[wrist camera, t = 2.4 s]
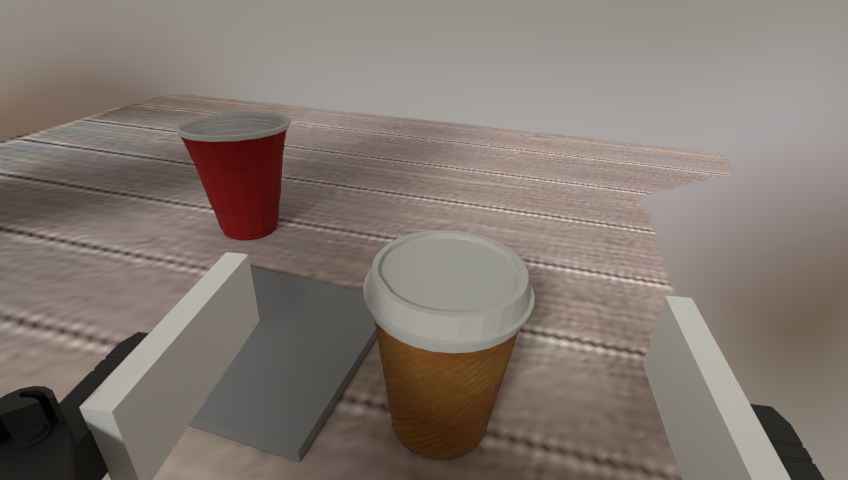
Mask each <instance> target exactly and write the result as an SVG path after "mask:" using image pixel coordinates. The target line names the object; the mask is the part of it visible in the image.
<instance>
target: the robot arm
mask: <svg viewBox="0 0 848 480" xmlns="http://www.w3.org/2000/svg"><path fill="white" fill-rule="evenodd" d="M259 321H260V320H259V314H258V308H257V302H256V296H255V290H254V285H253V279H252V273H251V267H250V261H249V255H248V254H240V253H230V252H226V253H225V254H224V255H223V256H222V257H221V258H220V259H219V260H218V261H217V262H216V263H215V265H214V266H213V267H212V268H211V269H210V270H209V271H208V272H207V273H206V274H205V275H204V276H203V277H202V278H201V279H200V280H199V281H198V282H197V284H196V285H195V286H194V287H193V288H192V289H191V290H190V291H189V292H188V293H187V294H186V295H185V296H184V297H183V298H182V299H181V300H180V301H179V303H178V304H177V305H176V306H175V307H174V308H173V309H172V310H171V311H170V312H169V313H168V314H167V315H166V316H165V317H164V318H163V319H162V320H161V321H160V323H159V324H158V325H157V326H156V327H155V328H154V329H153V330H152V331H151V332H150V333H142V332H138V333H136V334H134V335H133V336H131V337H129V338H128V339H126V340H124V341H122V342H121V343H119V344H118V345H117V346H116V347H115V348H114V349H113V350H112V351H111V352H110V353H109V354H108V355H107V356H106V359H105V360H102V361H101V362H100V363H99V364H98V365H97V366H96V367H95V369H94V371H91V372H90V373H89V374H88V375H87V376H86V377H85V378H84V379H83V380H82V381H81V382H80V383H79V384H78V385H77V386H76V387H75V388H74V389H73V390H72V391H71V392H70V393H69V394H68V395H67V396H66V397H65V398H64V399H63V400H62V401H61V402H60V403H59V404H58V401H57V399H56V397H55V395H54V393H53V391H52V390H51V389H49V388H47V387H43V386H32V387H27V388H22V389H19V390H16V391H14V392H11V393H9V394H7V395H5V396H3V397H2V398H0V480H102V479H103V477H104V476H105V475H106V473H107V472H108V474H109V476H110V479H111V480H152V479H153V478H154V476H155V475H156V473H157V472H158V470H159V469H160V467H161V466H162V464H163V463H164V461H165V460H166V458H167V457H168V455H169V454H170V453H171V451H172V450H173V448H174V447H175V445H176V444H177V442H178V441H179V439H180V438H181V436H182V435H183V433H184V432H185V430H186V429H187V427H188V426H189V424H190V423H191V421H192V420H193V419H194V417H195V416H196V414H197V413H198V411H199V410H200V408H201V407H202V405H203V404H204V402H205V401H206V399H207V398H208V396H209V395H210V393H211V392H212V390H213V389H214V388H215V386H216V385H217V383H218V382H219V380H220V379H221V377H222V376H223V374H224V373H225V371H226V370H227V368H228V367H229V365H230V364H231V362H232V361H233V359H234V358H235V356H236V355H237V354H238V352H239V351H240V349H241V348H242V346H243V345H244V343H245V342H246V340H247V339H248V337H249V336H250V334H251V333H252V331H253V330H254V328H255V327H256V325H257V324H258V323H259ZM643 366H644V369H645V372H646V375H647V378H648V381H649V384H650V387H651V390H652V393H653V396H654V399H655V402H656V405H657V407H658V410H659V413H660V416H661V419H662V422H663V425H664V428H665V431H666V434H667V437H668V440H669V443H670V446H671V449H672V452H673V455H674V458H675V461H676V464H677V467H678V470H679V472H680V475H681V478H682V480H824V478H823V476H822V475H821V473H820V472H819V470H818V468H817V467H816V465H815V464H813V463H812V458H811V457H810V455H809V454H808V452H807V450H806V449H805V448H803V446H802V442H801V441H800V439H799V437H798V436H797V434H796V432H795V431H794V429H793V427H792V426H791V424H790V423H789V422H787V421H786V420H785V419H784V418H783V417H782V416H781V415H780V414H779V413H778V412H777V411H776V410H775V409H773V408H772V407H770V406H762V405H753V404H749V402H748V400H747V398H746V396H745V395H744V393H743V391H742V389H741V387H740V385H739V384H738V382H737V380H736V378H735V376H734V375H733V373H732V371H731V369H730V368H729V365H728V364H727V362H726V360H725V358H724V356H723V354H722V353H721V351H720V349H719V347H718V345H717V343H716V342H715V340H714V338H713V336H712V335H711V332H710V331H709V329H708V327H707V325H706V323H705V322H704V320H703V318H702V316H701V314H700V312H699V311H698V309H697V307H696V305H695V303H694V302H693V300H692V298H684V297H674V296H665V297H664V300H663V303H662V307H661V310H660V313H659V316H658V319H657V322H656V325H655V328H654V332H653V335H652V338H651V341H650V344H649V347H648V350H647V353H646V356H645V360H644V363H643Z"/></svg>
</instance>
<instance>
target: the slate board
mask: <svg viewBox="0 0 848 480" xmlns="http://www.w3.org/2000/svg"><path fill="white" fill-rule="evenodd" d="M250 267H251V273H252V279H253V285H254V290H255V296H256V302H257V308H258V314H259V320H260V321H259V323H258V324H257V325H256V327H255V328H254V330H253V331H252V333H251V334H250V336H249V337H248V339H247V340H246V342H245V343H244V345H243V346H242V348H241V349H240V351H239V352H238V354H237V355H236V356H235V358H234V359H233V361H232V362H231V364H230V365H229V367H228V368H227V370H226V371H225V373H224V374H223V376H222V377H221V379H220V380H219V382H218V383H217V385H216V386H215V388H214V389H213V390H212V392H211V393H210V395H209V396H208V398H207V399H206V401H205V402H204V404H203V405H202V407H201V408H200V410H199V411H198V413H197V414H196V416H195V417H194V419H193V420H192V421H191V423H190V424H189V426H192V427H195V428H198V429H201V430H204V431H207V432H210V433H213V434H216V435H219V436H222V437H225V438H228V439H231V440H234V441H237V442H240V443H243V444H246V445H249V446H252V447H255V448H258V449H261V450H264V451H267V452H271V453H274V454H277V455H280V456H283V457H286V458H289V459H292V460H295V461H298V462H300V461H301V459H302V458H303V456H304V454H305V453H306V451H307V450H308V448H309V446H310V445H311V443H312V441H313V440H314V438H315V437H316V435H317V433H318V432H319V430H320V429H321V427H322V425H323V424H324V422H325V420H326V419H327V417H328V416H329V414H330V412H331V411H332V409H333V407H334V406H335V404H336V403H337V401H338V399H339V398H340V396H341V394H342V393H343V391H344V390H345V388H346V386H347V385H348V383H349V382H350V380H351V378H352V377H353V375H354V373H355V372H356V370H357V369H358V367H359V365H360V364H361V362H362V360H363V359H364V357H365V356H366V354H367V352H368V351H369V349H370V347H371V346H372V344H373V343H374V341H375V339H376V338H377V332H376V327H375V322H374V321H375V320H374V318H373V316H372V314H371V313H370V311H369V309H368V307H367V305H366V302H365V300H364V297H363V292H362V291H358V290H353V289H349V288H344V287H340V286H336V285H331V284H327V283H322V282H318V281H314V280H309V279H305V278H300V277H296V276H292V275H287V274H283V273H278V272H274V271H270V270H265V269H261V268H256V267H252V266H250ZM151 331H152V330H151ZM151 331H150V332H151ZM150 332H149V333H150Z"/></svg>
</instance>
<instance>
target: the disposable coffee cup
mask: <svg viewBox="0 0 848 480" xmlns="http://www.w3.org/2000/svg"><path fill="white" fill-rule="evenodd" d="M363 297H364V300H365V302H366V305H367V307H368V309H369V311H370V313H371V314H372V316H373V318H374V320H375V321H374V322H375V327H376V332H377V336H378V338H377V339H378V343H379V349H380V355H381V359H382V366H383V372H384V378H385V382H386V383H385V384H386V388H387V394H388V400H389V406H390V412H391V416H392V425H393V428H394V431H395V433H396V435H397V437H398V438H399V440H400V441H401V442H402V443H403V444H404V445H405V446H406V447H407V448H409V449H410V450H412V451H413V452H415V453H418V454H420V455H422V456H425V457H430V458H434V459H448V458H454V457H459V456H461V455H463V454H465V453H467V452H469V451H471V450H472V449H473V448H475V447H476V446H477V445H478V444H479V442H480V441H481V440H482V438H483V436H484V433H485V431H486V427H487V424H488V421H489V418H490V415H491V412H492V409H493V406H494V403H495V400H496V397H497V394H498V392H499V388H500V386H501V382H502V379H503V376H504V373H505V371H506V367H507V364H508V362H509V358H510V356H511V352H512V349H513V347H514V343H515V340H516V337H517V334H518V332H519V330H520V328H521V327H522V326H523V324H525V323H526V321H527V319H528V318H529V316H530V314H531V312H532V310H533V307H534V301H535V296H534V290H533V287H532V284H531V282H530V281H529V276H528V270H527V268H526V265H525V263H524V262H523V261H522V259H521V258H520V257H519V256H518V255H517V254H516V253H515V252H514V251H513V250H511V249H510V248H508V247H506V246H505V245H503V244H501V243H500V242H497V241H495V240H493V239H490V238H488V237H485V236H481V235H478V234H474V233H469V232H464V231H455V230H431V231H422V232H417V233H413V234H409V235H405V236H403V237H400V238H397V239H396V240H394V241H392V242H390V243H388V244H387V245H386V246H385V247H384V248H382V249H381V250H380V251H379V252H378V253H377V254H376V256H375V258H374V260H373V263H372V267H371V269H370V270H369V272H368V274H367V275H366V277H365V280H364V284H363Z"/></svg>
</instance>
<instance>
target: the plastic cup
mask: <svg viewBox="0 0 848 480" xmlns="http://www.w3.org/2000/svg"><path fill="white" fill-rule="evenodd" d="M289 125H290V119H289V118H287V117H286V116H283V115H278V114H274V113H263V112H232V113H221V114H212V115H206V116H200V117H195V118H191V119H188V120H185V121H182V122H180V123H178V124H177V125H176V126H174V129H175V131H176V132H177V134H178V136H179V137H181V138H182V140H183V141H184V143H185V146H186V148H187V149H188V151H189V153H190V156H191V158H192V160H193V161H194V164H195V166H196V169H197V171H198V174H199V176H200V179H201V181H202V184H203V186H204V189H205V191H206V194H207V197H208V199H209V202H210V204H211V206H212V208H213V209H214V212H215V214H216V217H217V220H218V222H219V225H220V227H221V229H222V230H223V232H224V234H225V235H226V236H228V237H229V238H232V239H237V240H252V239H257V238H261V237H264V236H266V235H268V234H270V233H272V232H273V231H274V230H275V229H276V226H277V222H278V214H279V199H280V193H281V176H282V160H283V150H284V141H285V137H286V131H287V129H288V127H289Z"/></svg>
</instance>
